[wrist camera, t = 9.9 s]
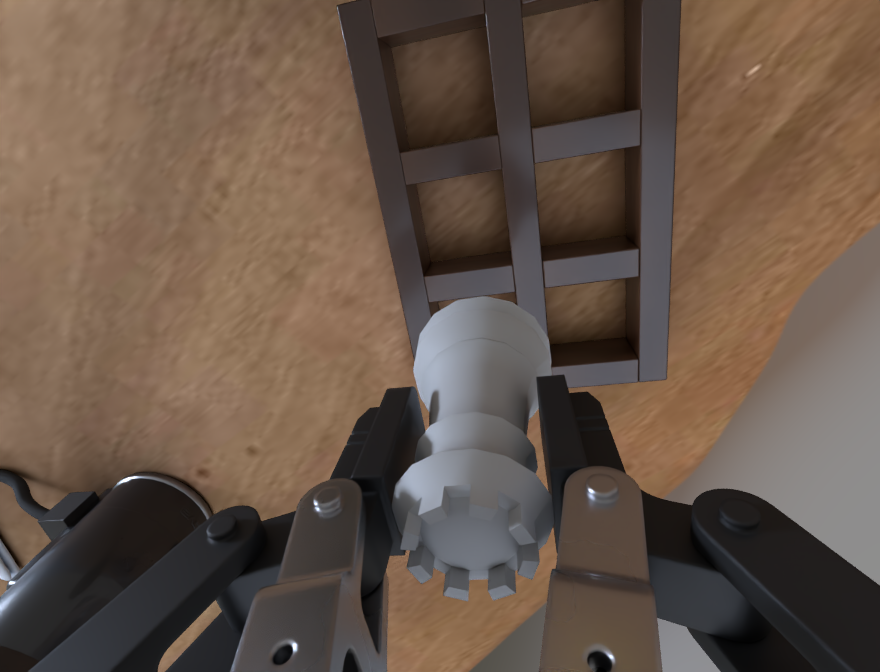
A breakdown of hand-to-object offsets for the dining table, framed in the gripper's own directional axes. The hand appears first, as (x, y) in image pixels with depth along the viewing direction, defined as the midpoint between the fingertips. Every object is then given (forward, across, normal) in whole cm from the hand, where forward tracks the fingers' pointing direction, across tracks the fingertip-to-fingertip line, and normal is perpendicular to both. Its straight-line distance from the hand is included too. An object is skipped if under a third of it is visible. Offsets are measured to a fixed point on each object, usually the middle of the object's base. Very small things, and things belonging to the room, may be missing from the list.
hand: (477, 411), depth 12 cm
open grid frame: (+17, -2, -2) cm, 17 cm away
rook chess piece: (+4, 0, 0) cm, 4 cm away
